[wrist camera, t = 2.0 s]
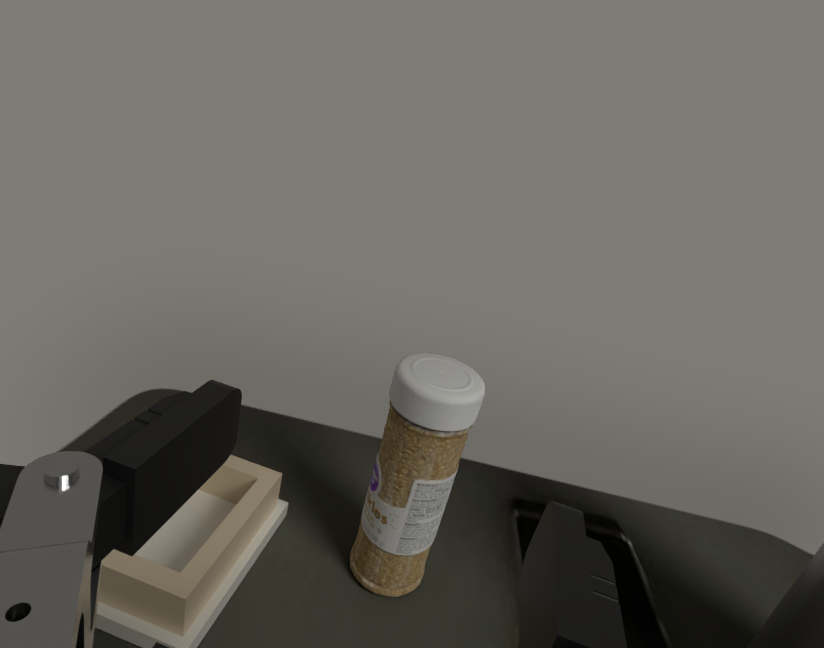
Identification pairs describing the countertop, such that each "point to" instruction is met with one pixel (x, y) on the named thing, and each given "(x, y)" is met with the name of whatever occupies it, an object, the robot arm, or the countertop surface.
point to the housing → (192, 560)
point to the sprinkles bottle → (414, 470)
